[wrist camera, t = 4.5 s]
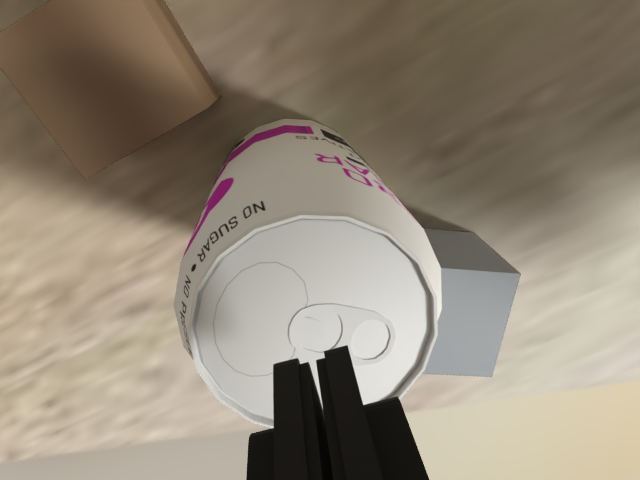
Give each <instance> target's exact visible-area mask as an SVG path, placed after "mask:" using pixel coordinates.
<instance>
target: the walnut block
mask: <svg viewBox="0 0 640 480" xmlns="http://www.w3.org/2000/svg"><path fill="white" fill-rule="evenodd" d="M0 68H1V70H2V71H3V72H4V74H5V75H6V76H7V77H8V79H9V80H10V81H11V83H12V84H13V85H14V87H15V88H16V89H17V91H18V92H19V93H20V95H21V96H22V97H23V99H24V100H25V101H26V103H27V104H28V105H29V107H30V108H31V109H32V111H33V112H34V113H35V115H36V116H37V117H38V119H39V120H40V121H41V123H42V124H43V125H44V127H45V128H46V129H47V131H48V132H49V133H50V135H51V136H52V137H53V139H54V140H55V141H56V143H57V144H58V145H59V147H60V148H61V149H62V151H63V152H64V153H65V154H66V156H67V157H68V158H69V160H70V161H71V162H72V164H73V165H74V166H75V168H76V169H77V170H78V172H79V173H80V174H81V176H82V177H83V178H84V180H85V179H87V178H88V177H90V176H92V175H94V174H95V173H97V172H99V171H100V170H102V169H104V168H106V167H107V166H109V165H111V164H113V163H114V162H116V161H118V160H119V159H121V158H123V157H125V156H126V155H128V154H130V153H131V152H133V151H135V150H137V149H138V148H140V147H142V146H144V145H145V144H147V143H149V142H150V141H152V140H154V139H156V138H157V137H159V136H161V135H162V134H164V133H166V132H168V131H169V130H171V129H173V128H174V127H176V126H178V125H180V124H181V123H183V122H185V121H187V120H188V119H190V118H192V117H193V116H195V115H197V114H199V113H200V112H202V111H204V110H205V109H207V108H208V107H210V106H211V105H212V104H213V103H214V102H215V101H216V100H217V99H218V98H220V97H221V95H220V93H219V92H218V90H217V88H216V86H215V85H214V83H213V81H212V80H211V78H210V76H209V75H208V73H207V71H206V70H205V68H204V66H203V65H202V63H201V61H200V60H199V58H198V56H197V55H196V53H195V51H194V50H193V48H192V46H191V45H190V43H189V41H188V40H187V38H186V36H185V35H184V33H183V31H182V29H181V28H180V26H179V24H178V23H177V21H176V19H175V18H174V16H173V14H172V13H171V11H170V9H169V8H168V6H167V4H166V3H165V1H164V0H50V1H49V2H47V3H45V4H44V5H42V6H41V7H39V8H37V9H36V10H34V11H33V12H31V13H29V14H28V15H26V16H25V17H23V18H21V19H20V20H18V21H17V22H15V23H13V24H12V25H10V26H9V27H7V28H5V29H4V30H2V31H1V32H0Z"/></svg>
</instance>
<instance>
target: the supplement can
mask: <svg viewBox="0 0 640 480" xmlns="http://www.w3.org/2000/svg"><path fill="white" fill-rule="evenodd" d="M174 309H175V313H176V317H177V321H178V325H179V329H180V333H181V337H182V341H183V345H184V347H185V349H186V350H187V352H188V353H189V354H190V356H191V357H192V359H193V360H194V363H195V367H196V371H197V372H198V373H199V375H200V376H201V377H202V379H203V380H204V382H205V383H206V384H207V386H208V387H209V388H210V390H211V391H212V393H213V394H214V395H215V397H216V398H217V400H218V401H219V402H221V403H222V404H224V405H225V406H227V407H228V408H230V409H231V410H233V411H234V412H236V413H237V414H239V415H240V416H242V417H243V418H245V419H246V420H248V421H249V422H251V423H254V424H258V425H262V426H265V427H269V428H274V415H273V365H274V364H275V363H279V362H283V361H287V360H291V359H295V358H298V359H299V362H300V364H302V363H306V362H309V364H310V367H311V371H312V374H313V377H314V381H315V384H316V388H317V391H318V395H319V398H320V401H321V405H322V399H321V392H320V385H319V378H318V371H317V365H316V360H318V359H322V358H325V356H324V351H326V350H330V349H334V348H338V347H342V346H346V345H348V349H349V353H350V357H351V360H352V364H353V368H354V372H355V376H356V379H357V383H358V387H359V391H360V395H361V398H362V402H363V405H365V404H369V403H373V402H377V401H381V400H385V399H389V398H392V397H396V396H398V398H399V400H400V399H401V398H402V397H403V396H404V395H405V393H406V392H407V391H408V390H409V389H410V387H411V386H412V385H413V384H414V383H415V381H416V380H417V379H418V378H419V376H420V375H421V374H422V373H423V372H424V370H425V368H426V365H427V363H428V360H429V357H430V355H431V352H432V349H433V346H434V344H435V341H436V338H437V336H438V324H437V321H438V319H439V316H440V313H441V310H442V292H441V267H440V265H439V263H438V260H437V258H436V256H435V253H434V251H433V249H432V247H431V244H430V242H429V240H428V238H427V235H426V233H425V231H424V229H423V228H422V226H421V225H420V224H419V223H418V222H417V221H416V220H415V218H414V217H413V216H412V215H411V214H410V213H409V211H408V210H407V209H406V208H405V207H404V206H403V204H402V203H401V202H400V201H399V200H398V199H397V197H396V196H395V195H394V194H393V193H392V192H391V190H390V189H389V188H388V187H387V186H386V185H385V183H384V182H383V181H382V180H381V179H380V178H379V177H378V175H377V174H376V173H375V172H374V171H373V170H372V168H371V167H370V166H369V165H368V164H367V163H366V161H365V160H364V159H363V158H362V157H361V156H360V154H359V153H358V152H357V151H356V150H355V149H354V148H353V147H352V146H351V145H350V144H349V143H348V142H347V141H346V140H345V139H344V138H343V137H342V136H341V135H340V134H339V133H338V132H337V131H335V130H333V129H330V128H328V127H326V126H324V125H321V124H319V123H317V122H314V121H312V120H300V119H281V120H278V121H274V122H271V123H268V124H265V125H262V126H258V127H256V128H255V129H254V130H252V131H251V132H250V133H249V134H247V135H246V136H245V137H243V138H242V139H241V140H240V141H238V142H237V143H236V144H235V145H234V147H233V149H232V150H231V152H230V154H229V155H228V157H227V159H226V160H225V162H224V163H223V165H222V167H221V169H220V172H219V174H218V176H217V179H216V181H215V183H214V186H213V188H212V190H211V193H210V195H209V197H208V200H207V202H206V204H205V207H204V209H203V211H202V214H201V216H200V218H199V221H198V223H197V225H196V228H195V230H194V232H193V235H192V237H191V239H190V242H189V244H188V246H187V249H186V251H185V253H184V256H183V258H182V260H181V264H180V270H179V276H178V282H177V289H176V295H175V301H174ZM322 408H323V405H322Z"/></svg>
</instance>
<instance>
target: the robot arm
mask: <svg viewBox="0 0 640 480" xmlns="http://www.w3.org/2000/svg"><path fill="white" fill-rule="evenodd" d="M324 356H325V358H322V359H318V360H316V365H317V371H318V378H319V385H320V392H321V399H322V405H323V408H322V405H321V401H320V398H319V395H318V391H317V388H316V384H315V381H314V377H313V374H312V371H311V367H310V364H309V362H306V363H302V364H300V362H299V359H298V358H295V359H291V360H287V361H283V362H279V363H275V364H274V365H273V415H274V428H272V429H268V430H264V431H260V432H256V433H252V434H251V435H250V437H249V445H248V463H247V480H429V478H428V475H427V473H426V470H425V467H424V464H423V462H422V459H421V456H420V454H419V451H418V449H417V446H416V443H415V440H414V437H413V435H412V432H411V429H410V427H409V424H408V421H407V419H406V416H405V413H404V410H403V408H402V405H401V403H400V400H399V398H398V396H396V397H392V398H389V399H385V400H381V401H377V402H373V403H369V404H365V405H363V402H362V398H361V395H360V391H359V387H358V383H357V379H356V376H355V372H354V368H353V364H352V360H351V357H350V353H349V349H348V345H346V346H342V347H338V348H334V349H330V350H326V351H324Z"/></svg>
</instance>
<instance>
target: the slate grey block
mask: <svg viewBox="0 0 640 480" xmlns="http://www.w3.org/2000/svg"><path fill="white" fill-rule="evenodd" d="M423 229H424V231H425V233H426V235H427V238H428V240H429V242H430V244H431V247H432V249H433V251H434V253H435V256H436V258H437V260H438V263H439V265H440V267H441V292H442V310H441V313H440V316H439V319H438V321H437V324H438V336H437V338H436V341H435V344H434V346H433V349H432V352H431V355H430V357H429V360H428V363H427V365H426V368H425V370H424V372H423V373H422V374H436V375H459V376H481V377H492V375H493V371H494V367H495V364H496V360H497V357H498V353H499V350H500V346H501V342H502V339H503V335H504V332H505V328H506V325H507V321H508V318H509V314H510V310H511V307H512V303H513V300H514V296H515V293H516V289H517V286H518V282H519V278H520V275H521V274H520V273H519V272H518V271H517V270H516V269H515V268H514V267H512V266H511V265H510V264H509V263H508V262H507V261H506V260H505V259H503V258H502V257H501V256H500V255H499V254H498V253H497V252H496V251H494V250H493V249H492V248H491V247H490V246H489V245H488V244H487V243H485V242H484V241H483V240H482V239H481V238H480V237H479V236H478V235H476V234H475V233H473V232H461V231H449V230H437V229H425V228H423Z"/></svg>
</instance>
